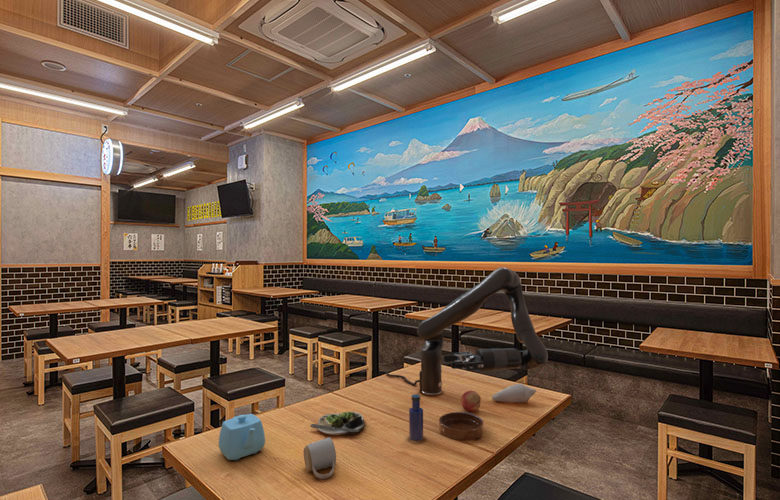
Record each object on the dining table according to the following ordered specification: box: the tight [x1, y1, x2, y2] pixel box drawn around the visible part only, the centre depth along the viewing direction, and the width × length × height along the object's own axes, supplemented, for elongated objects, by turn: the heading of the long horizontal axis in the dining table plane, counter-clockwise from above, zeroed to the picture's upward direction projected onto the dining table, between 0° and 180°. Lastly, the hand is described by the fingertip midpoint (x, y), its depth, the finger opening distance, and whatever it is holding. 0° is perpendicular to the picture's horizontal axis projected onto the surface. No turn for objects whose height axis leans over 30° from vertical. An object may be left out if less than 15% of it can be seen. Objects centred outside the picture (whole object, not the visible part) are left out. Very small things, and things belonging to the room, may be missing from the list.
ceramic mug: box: [303, 436, 337, 480], centre depth 110 cm, size 11×8×8 cm
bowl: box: [438, 411, 485, 442], centre depth 133 cm, size 15×15×4 cm
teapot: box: [218, 413, 266, 461], centre depth 120 cm, size 12×18×12 cm
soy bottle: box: [408, 394, 425, 442], centre depth 128 cm, size 5×5×15 cm
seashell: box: [491, 383, 537, 404], centre depth 160 cm, size 9×11×15 cm
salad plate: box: [309, 411, 365, 436], centre depth 138 cm, size 19×18×5 cm
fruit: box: [460, 390, 482, 413], centre depth 151 cm, size 8×8×8 cm
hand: (447, 361), depth 133 cm, fingers open, 8 cm apart
